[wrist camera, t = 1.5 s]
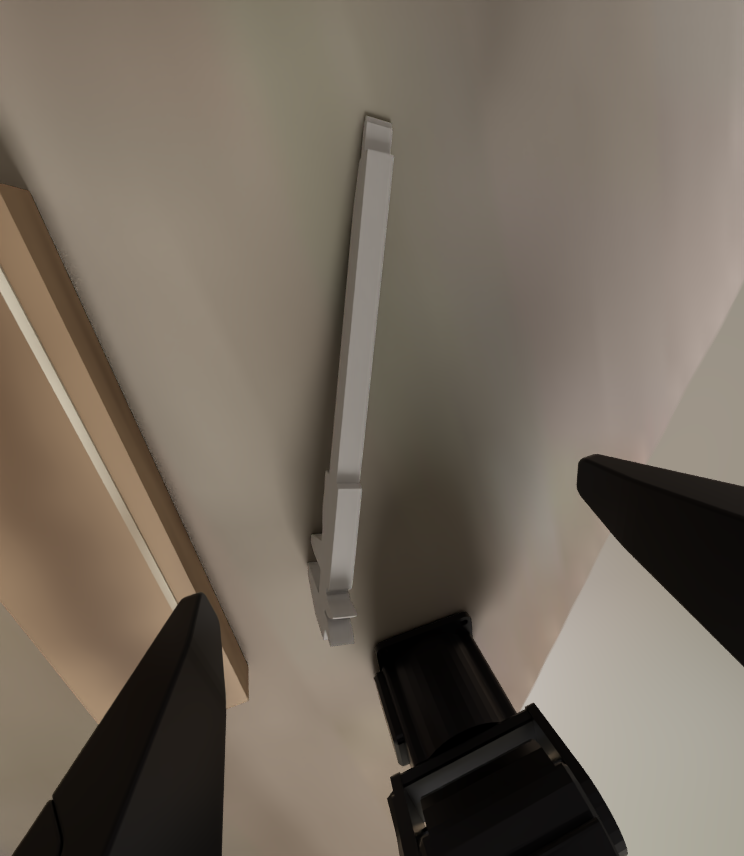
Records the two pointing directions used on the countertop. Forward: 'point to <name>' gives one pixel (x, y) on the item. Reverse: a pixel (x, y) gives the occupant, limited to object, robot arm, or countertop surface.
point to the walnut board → (81, 487)
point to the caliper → (353, 390)
